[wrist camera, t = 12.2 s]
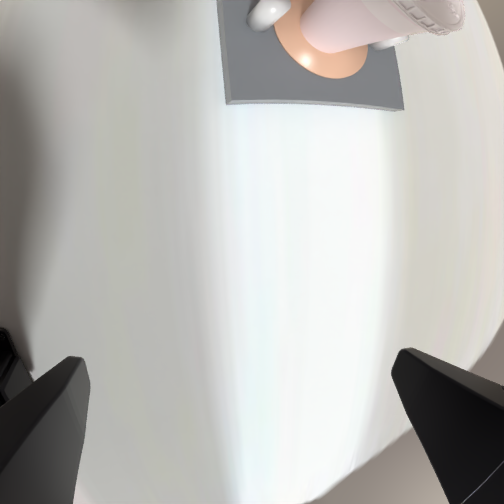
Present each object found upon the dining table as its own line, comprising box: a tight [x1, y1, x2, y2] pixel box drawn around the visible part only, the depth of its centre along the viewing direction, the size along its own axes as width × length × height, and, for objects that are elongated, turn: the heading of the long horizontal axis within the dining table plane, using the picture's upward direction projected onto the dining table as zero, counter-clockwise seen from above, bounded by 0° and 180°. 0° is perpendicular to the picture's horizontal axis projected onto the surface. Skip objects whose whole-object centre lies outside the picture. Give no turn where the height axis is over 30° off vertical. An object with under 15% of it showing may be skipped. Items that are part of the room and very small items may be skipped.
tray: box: [217, 0, 409, 111], centre depth 16 cm, size 14×11×4 cm
